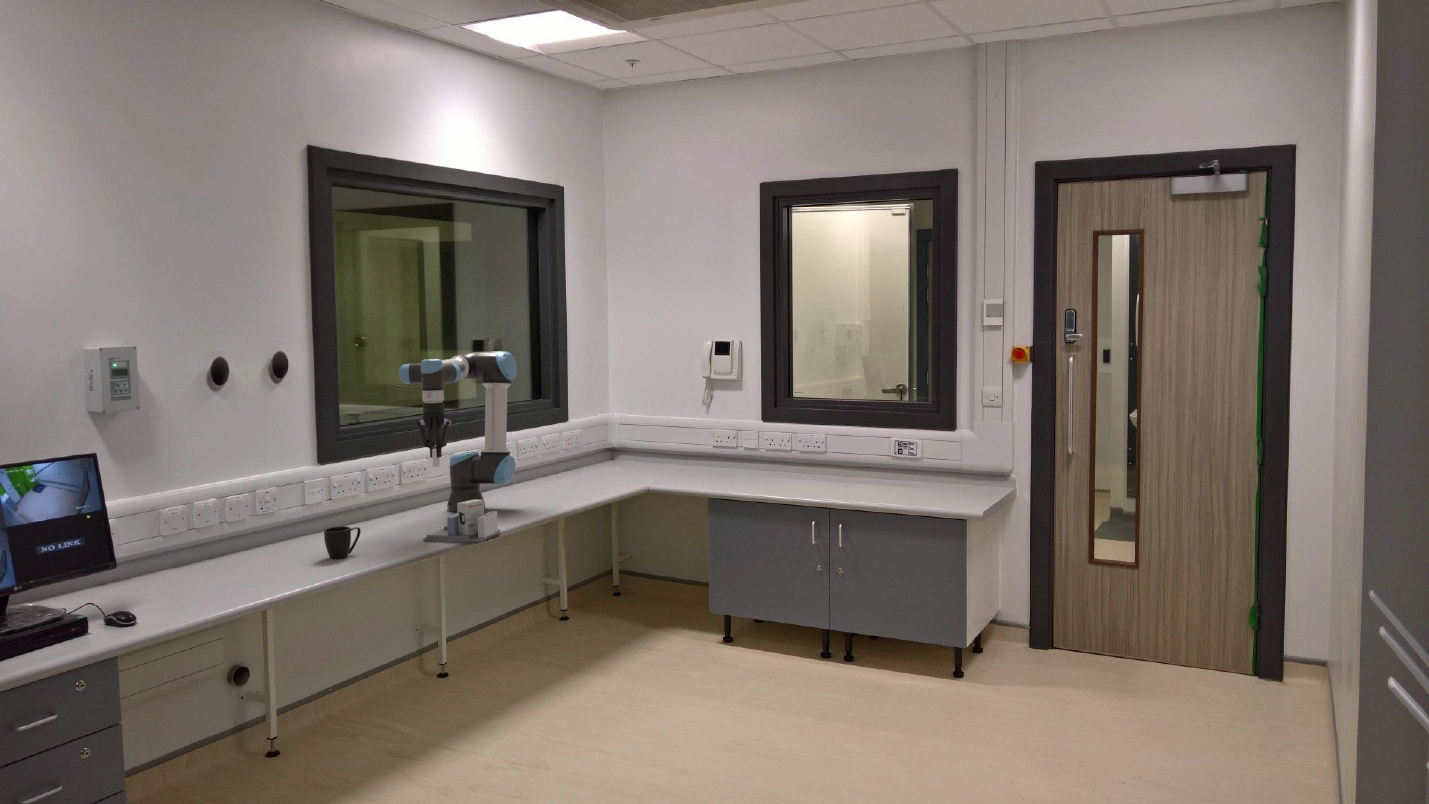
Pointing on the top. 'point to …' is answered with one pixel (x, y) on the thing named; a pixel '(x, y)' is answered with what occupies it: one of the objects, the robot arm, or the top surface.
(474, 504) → the ink box
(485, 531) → the base
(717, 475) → the top surface
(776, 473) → the top surface
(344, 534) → the mug
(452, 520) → the block
